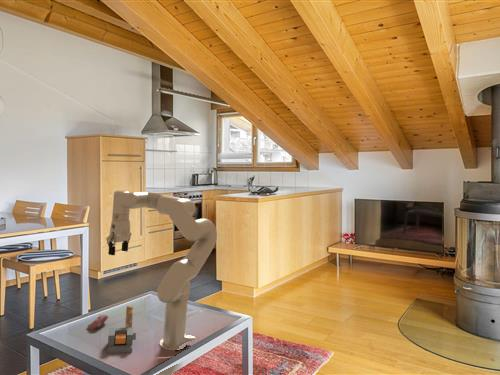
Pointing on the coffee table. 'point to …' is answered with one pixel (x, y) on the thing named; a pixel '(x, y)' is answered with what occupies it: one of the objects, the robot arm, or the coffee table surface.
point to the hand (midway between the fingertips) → (118, 252)
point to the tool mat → (134, 336)
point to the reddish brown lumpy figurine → (98, 322)
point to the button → (120, 339)
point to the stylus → (129, 317)
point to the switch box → (120, 348)
